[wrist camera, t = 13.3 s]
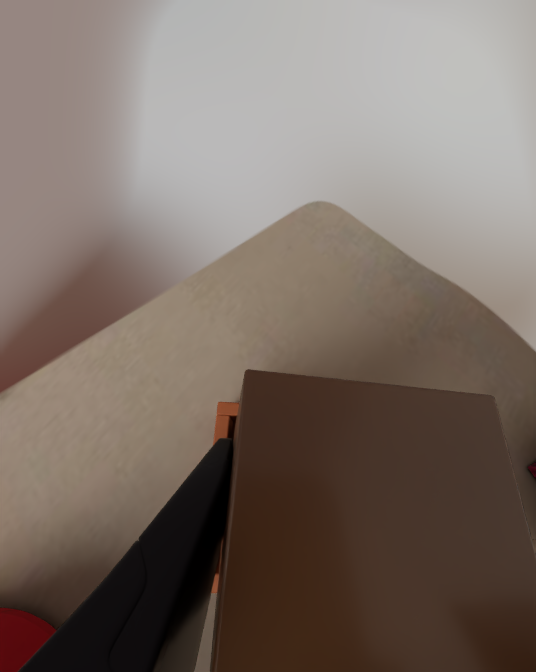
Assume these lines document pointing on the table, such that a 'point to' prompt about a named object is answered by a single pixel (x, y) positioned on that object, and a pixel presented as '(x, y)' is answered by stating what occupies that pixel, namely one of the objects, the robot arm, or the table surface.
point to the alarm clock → (20, 637)
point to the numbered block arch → (533, 468)
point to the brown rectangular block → (372, 533)
